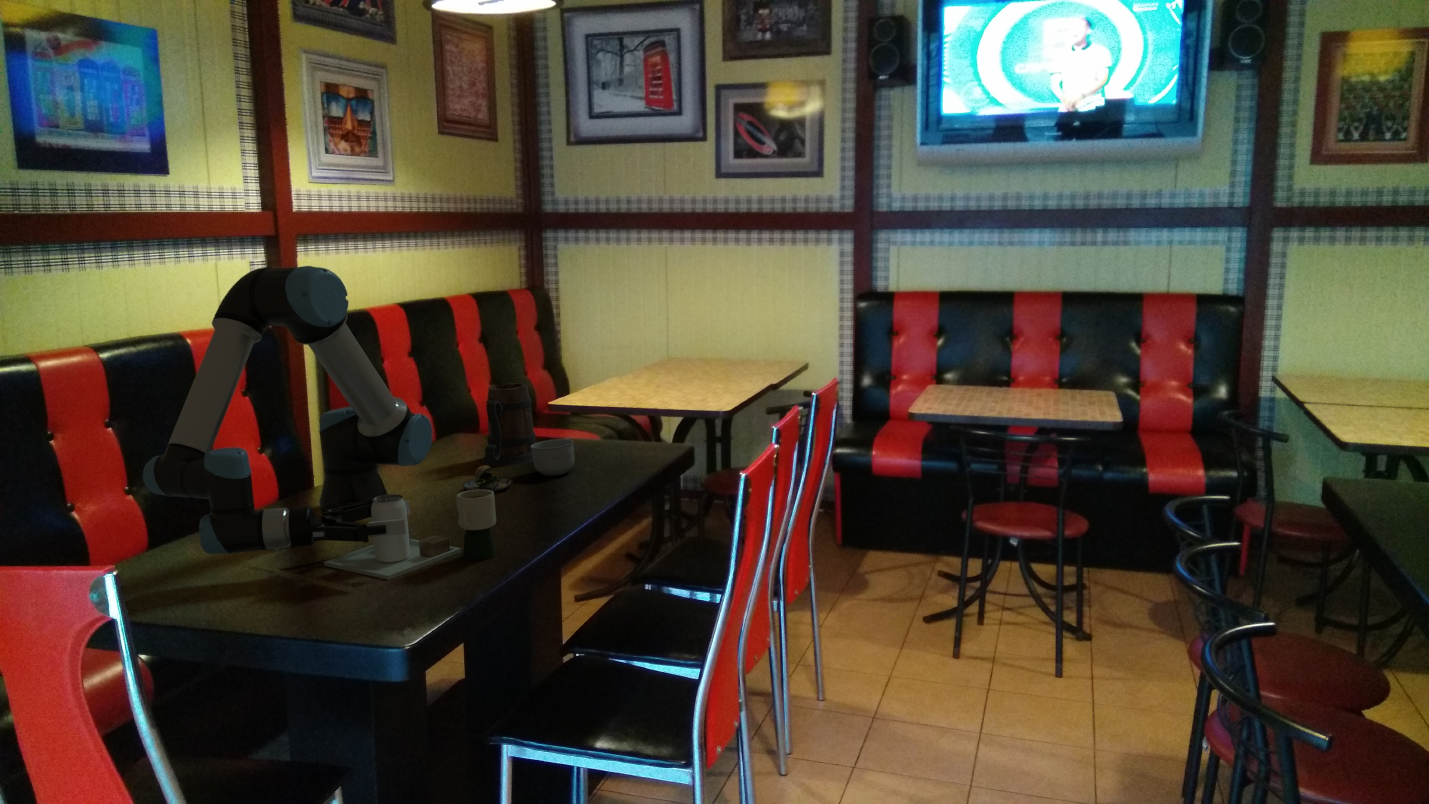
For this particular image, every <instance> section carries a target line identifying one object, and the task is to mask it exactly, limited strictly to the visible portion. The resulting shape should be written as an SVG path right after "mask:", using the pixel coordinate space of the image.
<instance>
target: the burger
mask: <svg viewBox="0 0 1429 804" xmlns="http://www.w3.org/2000/svg"><path fill="white" fill-rule="evenodd" d="M476 461H477V463H478V465H479V467H477V468H476V470H475V471H474V476H473V477H474V479H472V480H470V481H466V482H464V484H462V487H463V490H462V492H465V491H469V490H483V489H484V490H491V491H493V492H496V491H497V492H498V491H502V490H504V489H507V487H509V486H510V485H511V484H512V483H513V480H512V479H510V478H506V477H505V478H503V477H498V476H497V475H495V474H494V473H493V472H492V471H491V469H492V468H491V465H487V464H485V465H480V463H479V460H478V459H476Z"/></svg>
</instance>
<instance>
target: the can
mask: <svg viewBox="0 0 1429 804" xmlns="http://www.w3.org/2000/svg"><path fill="white" fill-rule="evenodd" d="M404 501H405V499H404V496H403V495H402V494H396V493H392V494H388V495H382V496H378V497H375V498H373V504H372V506H371V515H372V517H371V522H375V521H386V520H397V519H405V527H406V534H399V535H389V536H378V537H373V545H374V547H375V556H376V560H378V562H381V563H396V562H400V561H404V560H406V559H408V557H409V556H410V543H409V532H408V531H409V523H408V522H409V521H408V515H407V510H406V503H405V502H404Z"/></svg>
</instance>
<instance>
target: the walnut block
mask: <svg viewBox="0 0 1429 804" xmlns="http://www.w3.org/2000/svg"><path fill="white" fill-rule="evenodd" d="M450 546H451V545H450V538H449V537H445V536H439V535H432V536H429V537H426V538H423V539H420V540H419V549H420V556H423V557H428V558H432V557H435V556H438V555H440V554H443V553H446V552H448V551H450Z"/></svg>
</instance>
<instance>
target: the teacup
mask: <svg viewBox="0 0 1429 804" xmlns="http://www.w3.org/2000/svg"><path fill="white" fill-rule="evenodd" d="M574 449H575V447H574V440H573V439H569V438H568V437H564V438H560V439H559V438H557V439H549V440H542V441H539V442H535V444H533V445H531V450H532V458H533V462H532V463H533V466H534V469H535V470H536V471H537V472H539V473H540V474H541V475H543V476H547V477H548V476H549V477H550V476H560V475H563V474H567V473H568V472H569V471H570V469H572V468H573V466H574V464H575V451H574Z"/></svg>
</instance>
